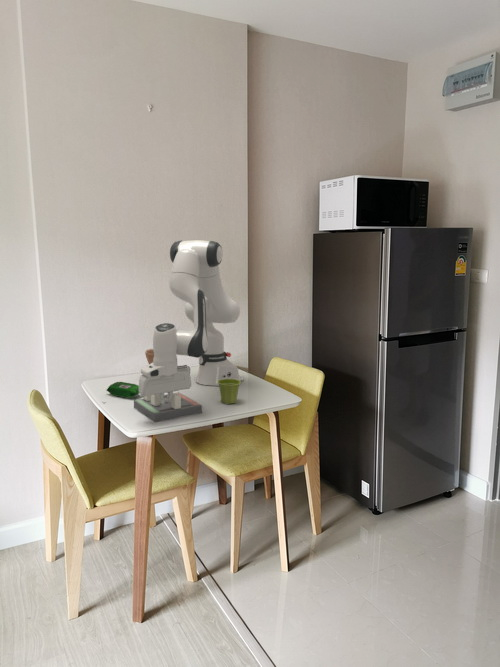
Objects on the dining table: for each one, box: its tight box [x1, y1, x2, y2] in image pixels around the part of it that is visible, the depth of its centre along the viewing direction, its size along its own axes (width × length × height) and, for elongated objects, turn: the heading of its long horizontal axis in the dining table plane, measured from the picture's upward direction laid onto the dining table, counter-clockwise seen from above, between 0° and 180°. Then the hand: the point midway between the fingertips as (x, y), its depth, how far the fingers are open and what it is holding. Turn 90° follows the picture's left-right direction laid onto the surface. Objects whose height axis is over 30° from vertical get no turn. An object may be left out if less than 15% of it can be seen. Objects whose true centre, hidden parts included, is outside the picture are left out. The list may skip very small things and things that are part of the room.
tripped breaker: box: [171, 392, 181, 409], centre depth 201 cm, size 2×4×5 cm
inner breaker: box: [142, 396, 151, 401], centre depth 209 cm, size 2×4×5 cm
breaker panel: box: [133, 391, 203, 423], centre depth 207 cm, size 20×19×3 cm
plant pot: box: [218, 379, 242, 405], centre depth 218 cm, size 9×9×9 cm
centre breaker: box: [151, 394, 161, 406], centre depth 204 cm, size 2×4×5 cm
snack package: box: [105, 381, 140, 399], centre depth 224 cm, size 7×16×5 cm, turn 64°
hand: (165, 403), depth 199 cm, fingers closed
